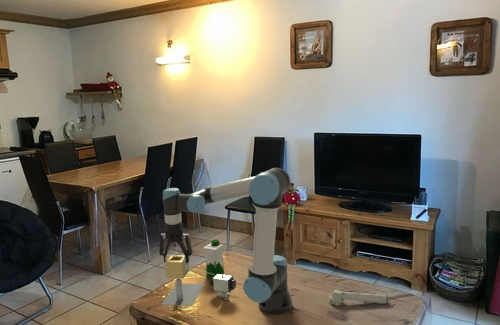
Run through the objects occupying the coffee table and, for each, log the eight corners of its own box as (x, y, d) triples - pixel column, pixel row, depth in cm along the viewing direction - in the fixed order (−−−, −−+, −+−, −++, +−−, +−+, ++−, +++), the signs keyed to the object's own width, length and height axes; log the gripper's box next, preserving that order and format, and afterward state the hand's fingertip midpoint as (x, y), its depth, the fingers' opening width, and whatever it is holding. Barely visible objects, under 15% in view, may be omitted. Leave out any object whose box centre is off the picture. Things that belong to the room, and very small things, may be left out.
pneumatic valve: (233, 302, 187) (231, 278, 185) (210, 299, 191) (209, 275, 189) (238, 297, 192) (236, 273, 190) (216, 293, 196) (214, 270, 194)
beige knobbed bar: (388, 298, 177) (331, 291, 178) (386, 312, 178) (329, 305, 179) (385, 292, 182) (330, 285, 183) (383, 305, 183) (328, 299, 184)
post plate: (205, 286, 204) (203, 264, 203) (192, 308, 183) (190, 284, 181) (177, 285, 207) (175, 263, 205) (161, 307, 186) (158, 283, 184)
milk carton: (226, 276, 215) (224, 240, 212) (217, 283, 208) (214, 246, 205) (213, 273, 220) (210, 238, 217) (203, 280, 212) (200, 244, 209)
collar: (188, 271, 190) (187, 255, 189) (183, 278, 182) (181, 262, 181) (172, 270, 192) (171, 255, 190) (166, 278, 184) (164, 261, 183)
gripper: (197, 219, 185) (201, 266, 188) (155, 219, 189) (159, 265, 192) (192, 224, 178) (196, 273, 181) (148, 224, 181) (152, 272, 185)
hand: (177, 269), depth 187 cm, fingers closed on collar, 8 cm apart
